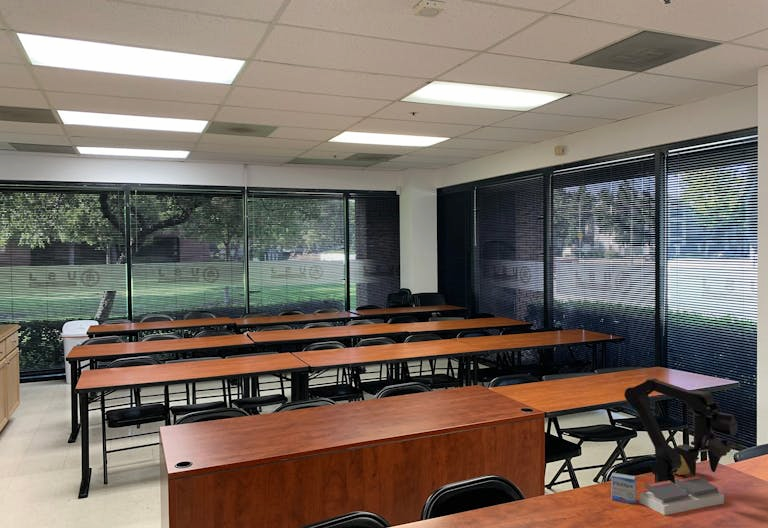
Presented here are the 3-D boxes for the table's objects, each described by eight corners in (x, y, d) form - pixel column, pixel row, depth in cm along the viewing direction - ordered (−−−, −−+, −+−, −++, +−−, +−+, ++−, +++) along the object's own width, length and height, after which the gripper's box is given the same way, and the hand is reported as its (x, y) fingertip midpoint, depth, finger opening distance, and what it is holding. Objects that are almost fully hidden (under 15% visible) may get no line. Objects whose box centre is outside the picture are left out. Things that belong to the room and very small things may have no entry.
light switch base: (639, 502, 195) (639, 490, 195) (696, 491, 204) (696, 480, 204) (664, 515, 185) (664, 503, 185) (724, 503, 194) (723, 491, 194)
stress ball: (695, 477, 221) (683, 455, 228) (699, 464, 214) (687, 441, 222) (670, 481, 221) (659, 458, 229) (673, 468, 215) (662, 445, 223)
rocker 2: (674, 484, 199) (675, 479, 199) (697, 479, 202) (698, 475, 202) (693, 496, 191) (694, 491, 191) (717, 492, 195) (717, 487, 195)
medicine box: (611, 500, 197) (610, 475, 197) (612, 495, 201) (612, 471, 201) (635, 504, 193) (635, 479, 194) (636, 499, 197) (636, 475, 198)
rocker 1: (645, 488, 194) (646, 484, 194) (669, 484, 198) (670, 479, 198) (663, 502, 187) (664, 498, 187) (687, 498, 191) (688, 493, 190)
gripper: (702, 437, 184) (703, 485, 184) (743, 432, 190) (744, 477, 190) (674, 429, 195) (675, 473, 195) (714, 423, 201) (715, 467, 201)
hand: (703, 473), depth 195 cm, fingers open, 9 cm apart
